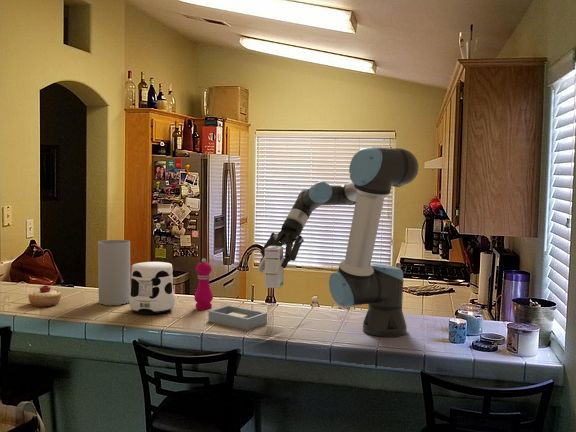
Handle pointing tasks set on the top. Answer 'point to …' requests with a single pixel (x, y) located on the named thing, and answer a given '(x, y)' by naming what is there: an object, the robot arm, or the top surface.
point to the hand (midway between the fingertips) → (268, 272)
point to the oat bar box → (239, 315)
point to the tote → (237, 317)
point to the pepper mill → (203, 286)
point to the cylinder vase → (114, 272)
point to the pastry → (44, 297)
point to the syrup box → (273, 266)
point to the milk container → (151, 287)
